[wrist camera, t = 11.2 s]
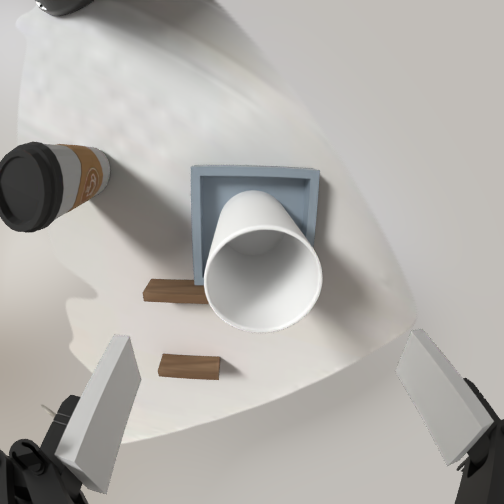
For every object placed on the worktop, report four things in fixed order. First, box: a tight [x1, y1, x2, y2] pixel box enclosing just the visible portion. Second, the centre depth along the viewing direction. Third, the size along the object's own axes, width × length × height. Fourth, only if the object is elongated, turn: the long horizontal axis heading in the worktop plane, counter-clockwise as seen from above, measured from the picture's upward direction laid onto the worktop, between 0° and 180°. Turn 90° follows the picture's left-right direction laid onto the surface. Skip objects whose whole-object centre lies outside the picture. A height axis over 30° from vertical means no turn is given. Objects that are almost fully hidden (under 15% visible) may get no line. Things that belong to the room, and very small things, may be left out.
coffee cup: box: [0, 142, 110, 232], centre depth 24 cm, size 8×8×15 cm
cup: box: [204, 190, 322, 333], centre depth 27 cm, size 8×8×16 cm
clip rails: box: [143, 279, 220, 380], centre depth 38 cm, size 14×9×4 cm, turn 178°
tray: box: [191, 165, 320, 285], centre depth 33 cm, size 14×14×3 cm
